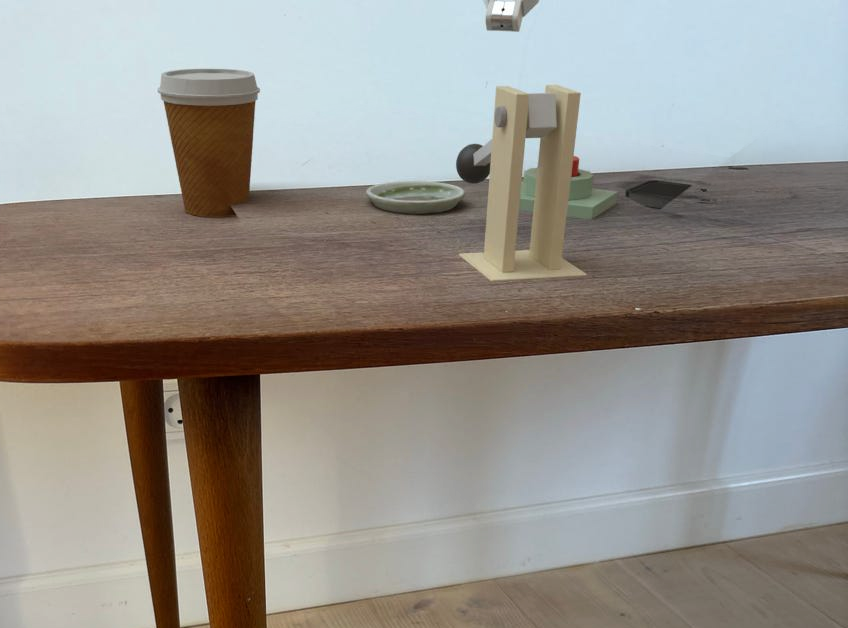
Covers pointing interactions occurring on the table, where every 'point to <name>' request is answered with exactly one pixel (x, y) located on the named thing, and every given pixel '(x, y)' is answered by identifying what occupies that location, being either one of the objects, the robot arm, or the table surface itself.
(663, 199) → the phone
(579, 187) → the control block
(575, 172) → the button
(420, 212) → the saucer
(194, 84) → the disposable coffee cup
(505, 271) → the lever bracket
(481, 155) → the control lever
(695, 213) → the table surface
